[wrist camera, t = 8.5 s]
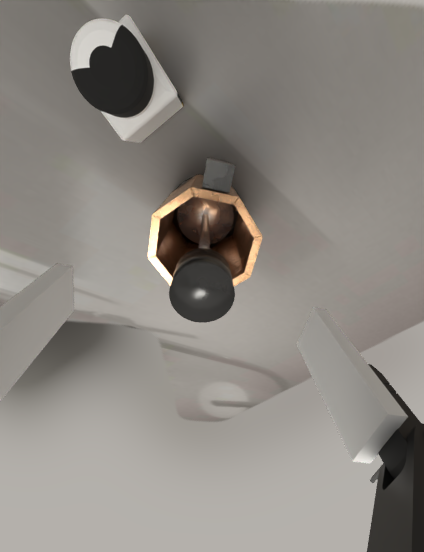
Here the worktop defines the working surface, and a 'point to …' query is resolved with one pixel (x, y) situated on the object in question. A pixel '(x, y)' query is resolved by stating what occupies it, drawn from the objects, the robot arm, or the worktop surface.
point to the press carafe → (174, 244)
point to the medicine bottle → (122, 77)
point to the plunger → (203, 262)
